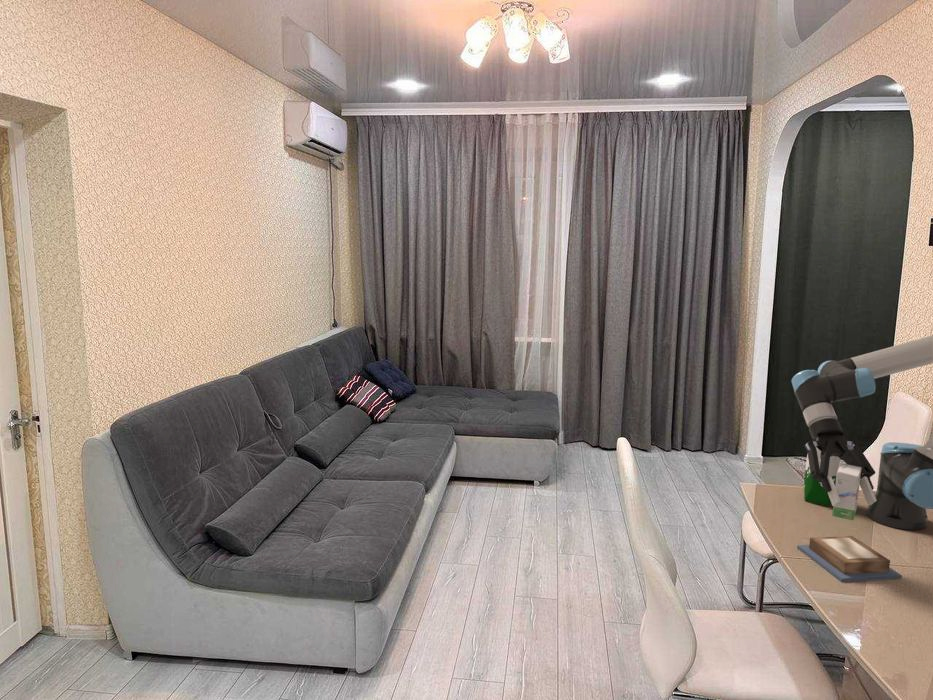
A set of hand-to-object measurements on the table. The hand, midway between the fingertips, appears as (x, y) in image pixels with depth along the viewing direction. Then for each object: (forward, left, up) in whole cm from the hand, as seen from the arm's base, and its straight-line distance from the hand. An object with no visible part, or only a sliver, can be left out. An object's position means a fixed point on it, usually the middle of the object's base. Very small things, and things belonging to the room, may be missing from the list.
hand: (854, 503), depth 172 cm
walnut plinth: (-1, -1, -17) cm, 17 cm away
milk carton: (-20, -41, -17) cm, 49 cm away
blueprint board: (-1, -1, -17) cm, 17 cm away
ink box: (0, -3, -4) cm, 5 cm away
